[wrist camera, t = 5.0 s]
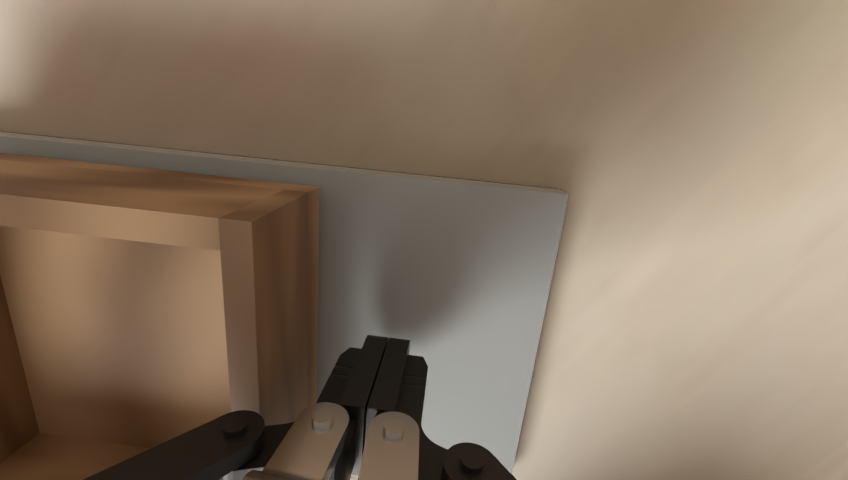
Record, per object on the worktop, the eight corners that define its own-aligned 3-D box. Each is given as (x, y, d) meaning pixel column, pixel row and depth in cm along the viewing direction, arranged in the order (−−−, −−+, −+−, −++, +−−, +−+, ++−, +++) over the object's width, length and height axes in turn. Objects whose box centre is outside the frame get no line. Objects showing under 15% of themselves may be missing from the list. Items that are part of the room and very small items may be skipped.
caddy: (319, 186, 13) (251, 221, 9) (316, 463, 16) (266, 587, 12) (-17, 151, 13) (-238, 167, 9) (49, 426, 17) (-89, 532, 13)
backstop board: (561, 189, 14) (617, 228, 9) (505, 470, 17) (524, 603, 13) (-16, 129, 15) (-242, 137, 10) (50, 408, 18) (-91, 510, 14)
